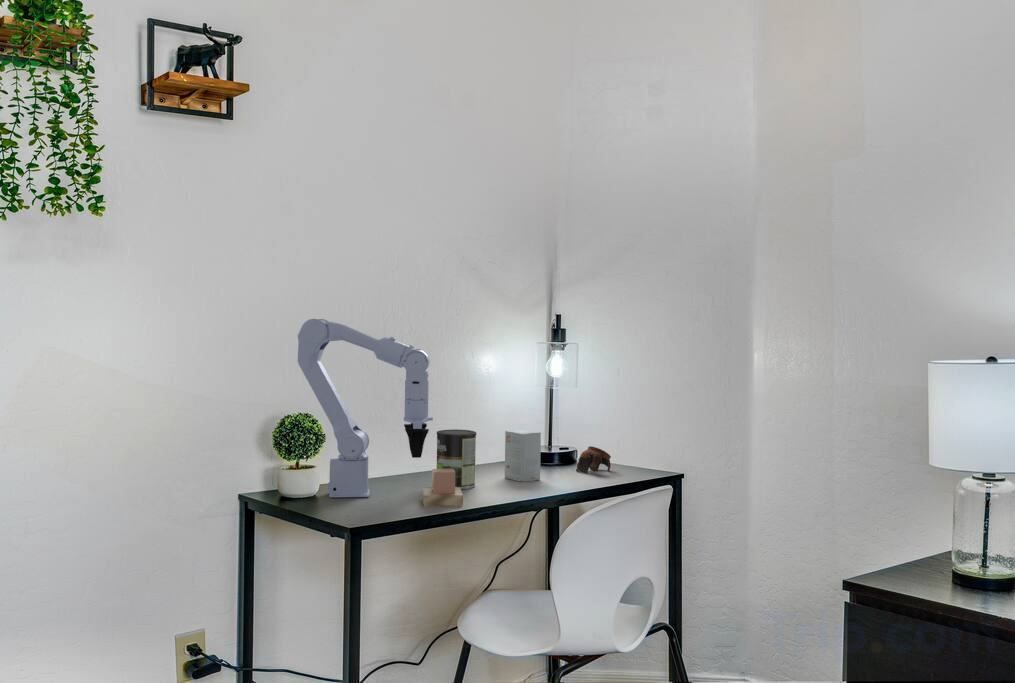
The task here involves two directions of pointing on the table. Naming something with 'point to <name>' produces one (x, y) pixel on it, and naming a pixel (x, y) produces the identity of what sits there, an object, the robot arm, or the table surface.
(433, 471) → the terracotta cube
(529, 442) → the small box
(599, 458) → the brown arch
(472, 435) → the coffee can
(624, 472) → the table surface
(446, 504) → the oak block
